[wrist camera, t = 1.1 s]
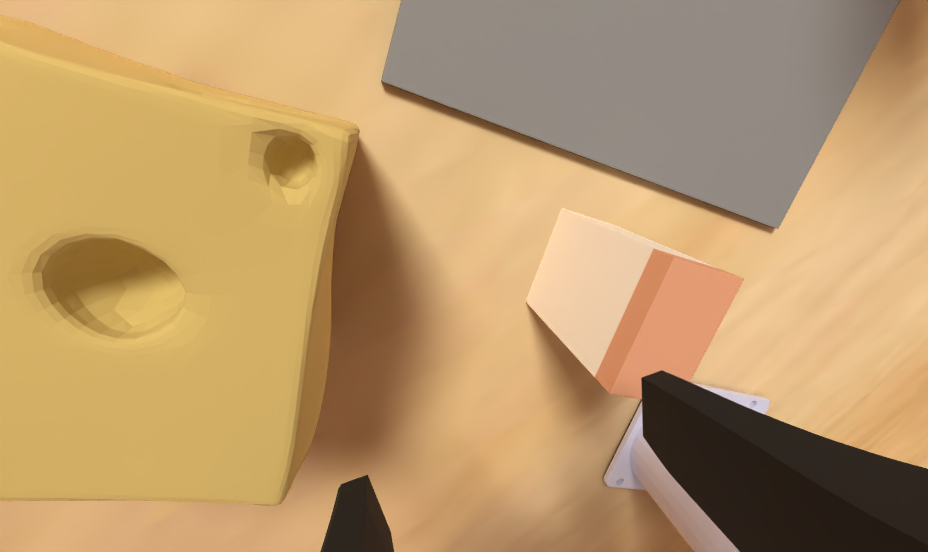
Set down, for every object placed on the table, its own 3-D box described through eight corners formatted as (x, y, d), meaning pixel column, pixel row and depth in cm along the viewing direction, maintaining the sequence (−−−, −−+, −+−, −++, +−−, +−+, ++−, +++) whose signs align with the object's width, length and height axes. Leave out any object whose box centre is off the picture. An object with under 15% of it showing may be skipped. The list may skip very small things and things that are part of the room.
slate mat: (920, -55, 20) (931, -58, 20) (771, 227, 24) (778, 229, 23) (498, -385, 13) (502, -399, 13) (380, 81, 17) (381, 80, 17)
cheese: (51, 29, 14) (-497, -129, 5) (374, 121, 17) (389, 126, 8) (51, 310, 17) (-301, 529, 8) (328, 346, 20) (302, 532, 11)
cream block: (612, 224, 21) (744, 279, 14) (575, 313, 23) (677, 405, 15) (561, 208, 21) (673, 257, 13) (525, 301, 22) (609, 393, 15)
